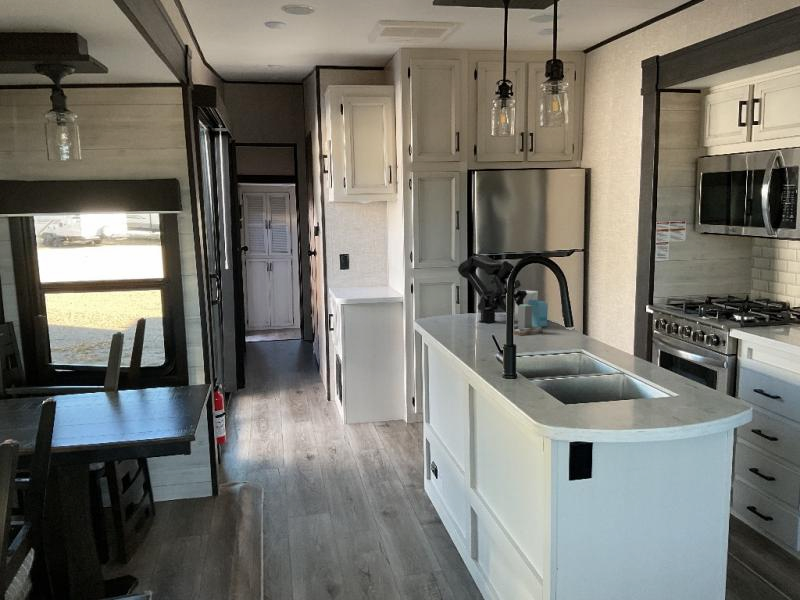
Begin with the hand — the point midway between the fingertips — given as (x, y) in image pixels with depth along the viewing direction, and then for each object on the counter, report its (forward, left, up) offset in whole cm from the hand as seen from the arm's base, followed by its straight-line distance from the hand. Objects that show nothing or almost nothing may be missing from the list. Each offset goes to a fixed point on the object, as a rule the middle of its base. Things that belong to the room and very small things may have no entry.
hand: (515, 311), depth 312 cm
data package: (0, +17, -9) cm, 19 cm away
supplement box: (-12, +24, -9) cm, 28 cm away
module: (+7, -2, -7) cm, 11 cm away
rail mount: (+7, -2, -9) cm, 12 cm away
